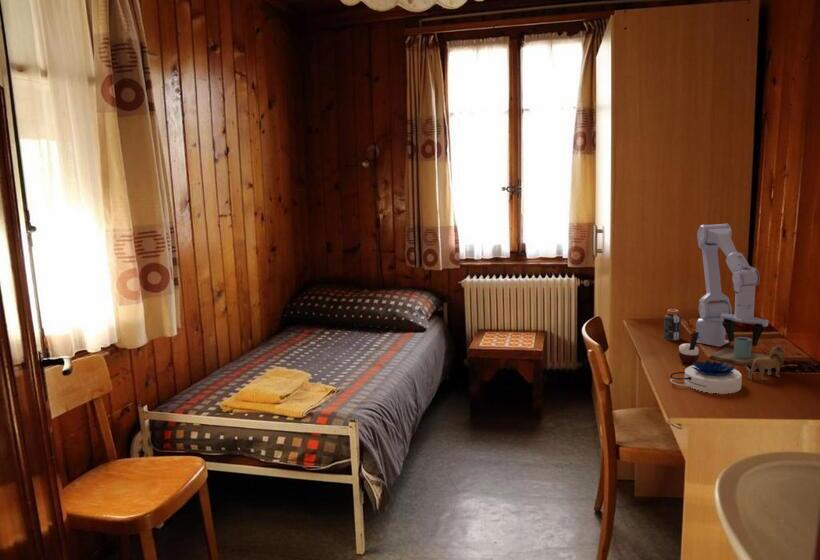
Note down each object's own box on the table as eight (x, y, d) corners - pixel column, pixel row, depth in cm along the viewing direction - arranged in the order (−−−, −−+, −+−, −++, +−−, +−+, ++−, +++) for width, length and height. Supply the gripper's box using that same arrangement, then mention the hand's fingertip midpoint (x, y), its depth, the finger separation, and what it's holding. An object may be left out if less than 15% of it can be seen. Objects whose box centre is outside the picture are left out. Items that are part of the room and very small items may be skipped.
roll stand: (710, 358, 210) (710, 344, 209) (726, 350, 217) (726, 336, 216) (759, 368, 198) (760, 353, 197) (774, 359, 205) (775, 345, 204)
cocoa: (679, 357, 212) (680, 324, 210) (699, 359, 209) (700, 325, 207) (677, 366, 204) (678, 331, 202) (698, 368, 201) (699, 332, 199)
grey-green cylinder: (731, 356, 208) (732, 339, 206) (737, 352, 211) (738, 336, 210) (746, 359, 204) (747, 342, 203) (753, 355, 207) (754, 338, 206)
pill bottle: (682, 340, 231) (683, 311, 229) (665, 340, 232) (666, 311, 230) (678, 336, 237) (679, 308, 235) (662, 336, 238) (663, 308, 236)
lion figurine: (771, 370, 196) (773, 343, 194) (788, 374, 191) (790, 346, 189) (743, 379, 189) (744, 351, 187) (759, 384, 184) (761, 356, 183)
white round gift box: (731, 355, 191) (664, 355, 195) (750, 372, 176) (677, 372, 180) (731, 376, 193) (664, 376, 196) (749, 394, 178) (676, 394, 181)
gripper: (717, 303, 207) (715, 342, 210) (762, 309, 196) (760, 350, 198) (726, 299, 211) (724, 337, 214) (771, 305, 200) (769, 345, 203)
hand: (742, 343), depth 206 cm, fingers open, 7 cm apart
